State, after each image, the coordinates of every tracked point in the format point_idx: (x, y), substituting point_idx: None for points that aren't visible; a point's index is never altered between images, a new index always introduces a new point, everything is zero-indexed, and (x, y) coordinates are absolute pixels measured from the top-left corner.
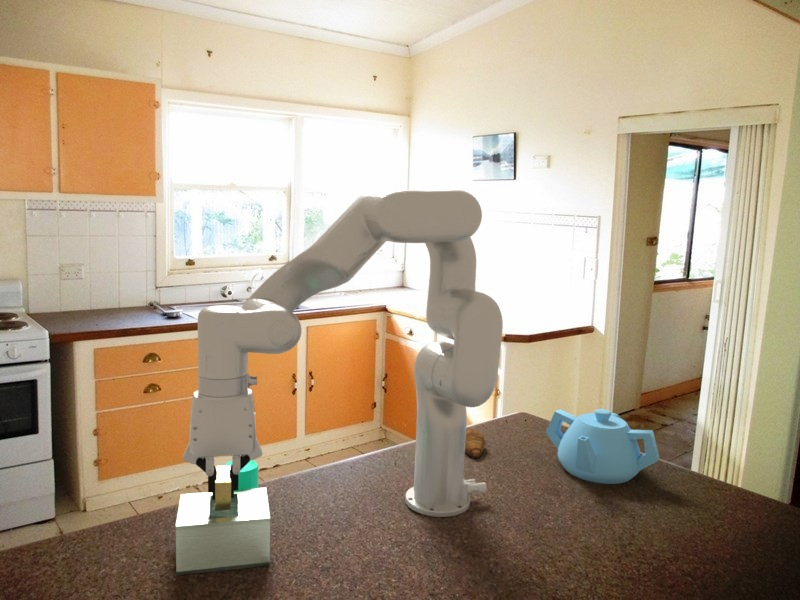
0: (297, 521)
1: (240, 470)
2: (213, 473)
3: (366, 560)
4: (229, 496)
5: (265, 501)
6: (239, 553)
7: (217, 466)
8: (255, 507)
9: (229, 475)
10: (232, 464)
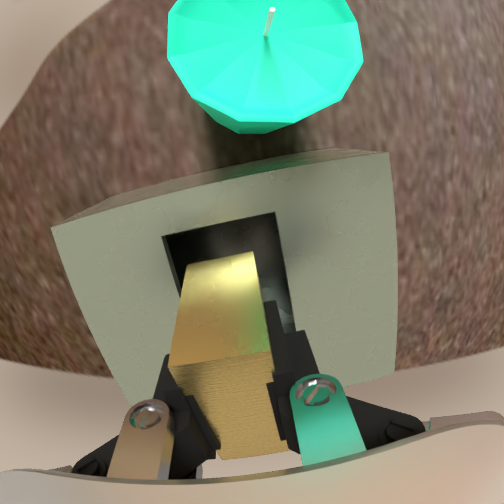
0: (404, 106)
1: (270, 69)
2: (200, 465)
3: (498, 275)
4: None
5: (389, 277)
6: None
7: (179, 368)
8: (356, 322)
9: (281, 439)
10: (294, 422)
